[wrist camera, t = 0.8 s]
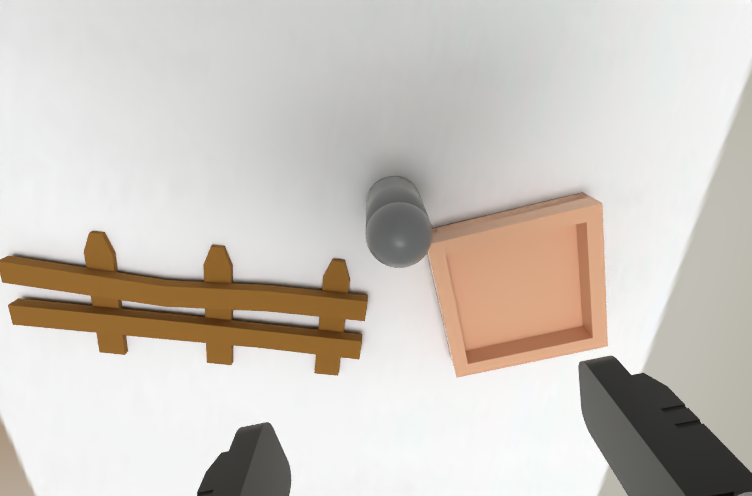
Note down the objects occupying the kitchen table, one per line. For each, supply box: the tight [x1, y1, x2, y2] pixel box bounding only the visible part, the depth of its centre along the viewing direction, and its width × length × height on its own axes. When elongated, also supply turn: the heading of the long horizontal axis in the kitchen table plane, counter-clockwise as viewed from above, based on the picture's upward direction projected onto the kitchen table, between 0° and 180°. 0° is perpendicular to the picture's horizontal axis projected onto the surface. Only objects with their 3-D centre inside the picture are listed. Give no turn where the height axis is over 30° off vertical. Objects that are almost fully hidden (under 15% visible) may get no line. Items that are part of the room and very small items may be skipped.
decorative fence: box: [0, 231, 368, 375], centre depth 30 cm, size 25×2×10 cm
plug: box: [366, 176, 433, 268], centre depth 24 cm, size 4×4×8 cm
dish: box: [427, 193, 608, 377], centre depth 29 cm, size 11×11×2 cm
